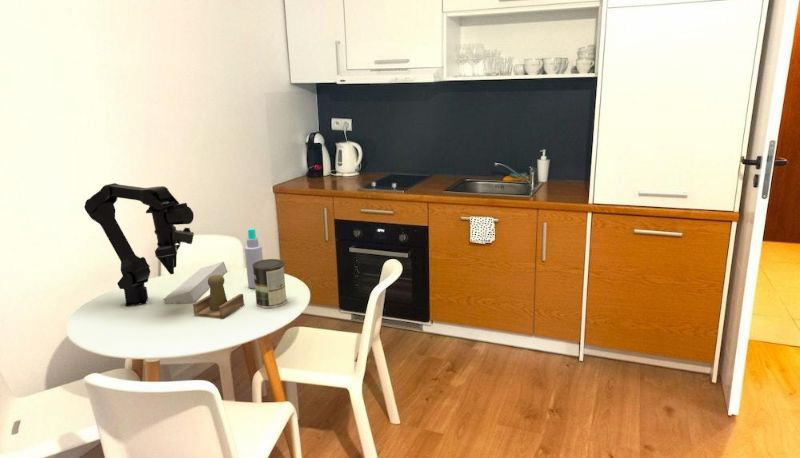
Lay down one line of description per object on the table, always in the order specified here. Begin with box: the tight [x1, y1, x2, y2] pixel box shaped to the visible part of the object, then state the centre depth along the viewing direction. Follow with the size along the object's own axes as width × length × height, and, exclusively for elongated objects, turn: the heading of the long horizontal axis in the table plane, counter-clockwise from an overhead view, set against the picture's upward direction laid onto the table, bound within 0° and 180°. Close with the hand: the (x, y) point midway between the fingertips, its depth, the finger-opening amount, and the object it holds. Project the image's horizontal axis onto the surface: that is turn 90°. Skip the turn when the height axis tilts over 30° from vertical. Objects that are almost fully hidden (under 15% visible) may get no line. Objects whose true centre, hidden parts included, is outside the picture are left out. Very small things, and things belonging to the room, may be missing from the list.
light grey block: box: [163, 261, 228, 304], centre depth 211 cm, size 34×5×10 cm
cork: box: [208, 275, 228, 311], centre depth 186 cm, size 6×6×11 cm
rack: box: [192, 293, 245, 320], centre depth 187 cm, size 11×12×4 cm
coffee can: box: [252, 258, 288, 309], centre depth 191 cm, size 10×10×14 cm
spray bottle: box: [244, 227, 264, 290], centre depth 206 cm, size 6×6×22 cm
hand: (173, 270), depth 188 cm, fingers open, 9 cm apart
